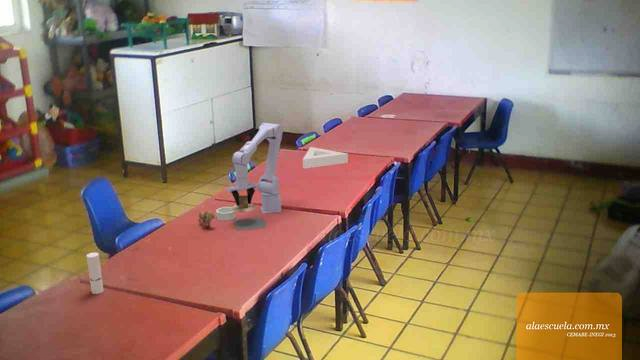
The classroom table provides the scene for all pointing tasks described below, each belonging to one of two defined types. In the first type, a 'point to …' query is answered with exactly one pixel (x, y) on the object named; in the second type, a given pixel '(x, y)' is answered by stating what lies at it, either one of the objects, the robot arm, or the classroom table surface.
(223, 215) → the bowl
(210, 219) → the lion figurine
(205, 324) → the classroom table surface
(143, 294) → the classroom table surface
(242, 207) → the lid
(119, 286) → the classroom table surface
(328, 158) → the triangle block
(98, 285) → the tube
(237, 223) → the mat
